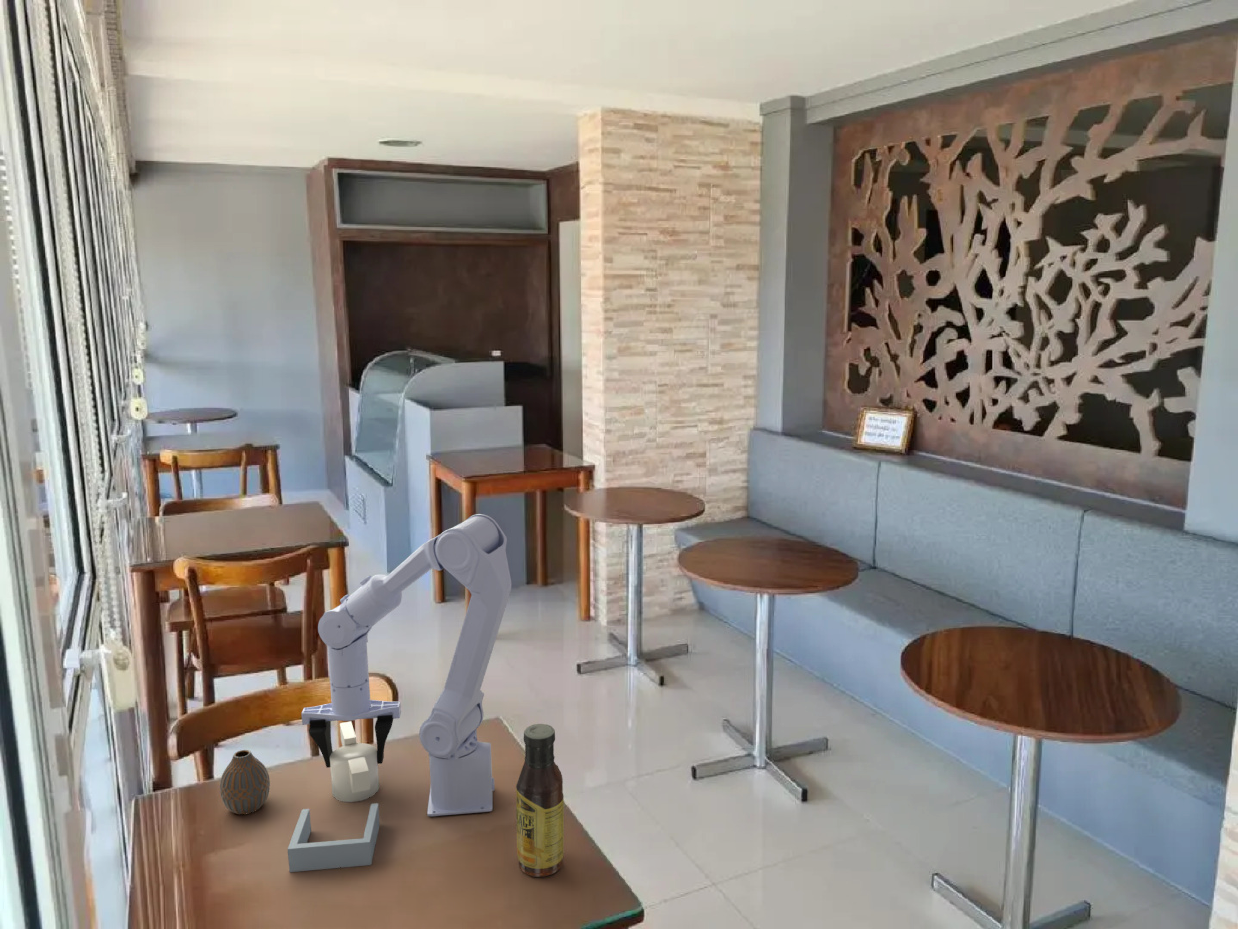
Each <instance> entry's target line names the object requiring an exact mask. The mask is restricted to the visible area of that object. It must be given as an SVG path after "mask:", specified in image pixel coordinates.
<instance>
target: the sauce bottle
mask: <svg viewBox="0 0 1238 929" xmlns="http://www.w3.org/2000/svg"><path fill="white" fill-rule="evenodd" d="M555 741H556V732H555V728H553V726H552V725H549V724H545V723H536V724H535V723H534V724H531V725H529V726H528V727H527V726H526V728H525V729H524V732H523V742H524V753H525V756H524V763H523V765H522V768H521V771H520V774H519V777H518V780H517V782H516V785H515V795H516V796H515V799H516V802H515V803H516V804H515V805H516V806H515V807H516V809H515V812H516V814H515V815H516V816H515V818H516V852H517V859H518V866H519V870H521V872H523V873H525V875H528V876H529V877H531V878H541V877H547V876H551V875H555V873H557V872H559V870H560V869H561V868H562V867H563V862H564V861H563V860H564V858H563V857H564V854H565V853H564V852H565V850H564V848H565V847H564V842H565V841H564V840H565V839H564V836H565V835H564V834H565V833H564V831H565V830H564V828H565V827H564V824H565V821H564V820H565V819H564V817H565V815H564V811H565V810H564V809H565V808H564V804H565V802H564V799H565V798H564V793H563V790H564V787H563V784H564V783H563V782H564V781H563V775H562V771H561V770H560V767H559V765H558V764H556V762H555V757H556V756H555V754H554V751H555V750H554V749H555V748H554V746H555V745H554V743H555Z"/></svg>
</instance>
